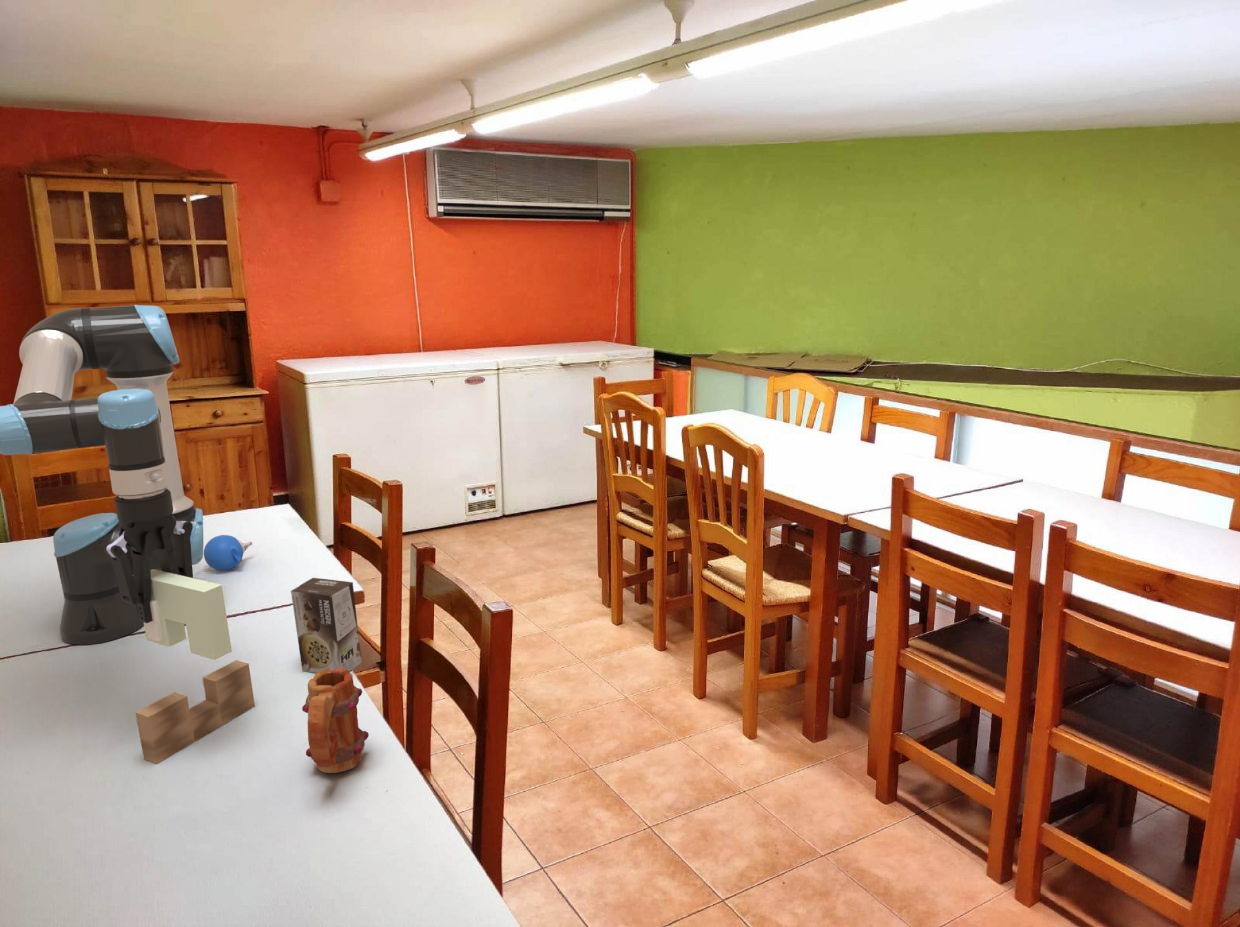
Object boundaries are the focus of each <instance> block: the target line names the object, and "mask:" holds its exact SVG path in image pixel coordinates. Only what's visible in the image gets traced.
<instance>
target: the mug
mask: <svg viewBox="0 0 1240 927" xmlns="http://www.w3.org/2000/svg"><path fill="white" fill-rule="evenodd" d="M307 691H308V692H307V694H308V695H307V697H306V698H305V703H304V704H303V705H302V707H301V710H302V712H304V713H306V714H307V742H308V746H309V747H308V748H307V749H306V751H305V756H307V757H308V758H311V760H312V761H313V762H314V763H315V765H316V768H317V770H319V771H321V772H322V773H326V774H330V773H331V774H333V773H334V774H337V773H343V772H346V771H349V770H351V769H355V767H357V766H358V765H359V764H360V762H361V760H362V752H363V750H364V749H365V746H366V745H365V744H366V743H365V742H366V741H367V740H368V738H369V735H370V734H369V731H366V730H362V729H361V728H360V726H359V720H358V704H359V702H360V697H361V695H362V694H363V689H362V688H358V687H357V686H356V685H355V683H354V678H353V674H352V673H351V671H350V672H349V671H348V670H346V669H341V668H335V669H334V670H332V671H331V670H330V669H329V668H328V669H326V670H323V671H321V672H318V673H314V675H313V678H310V679H309V680H308V682H307Z"/></svg>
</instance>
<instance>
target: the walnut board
mask: <svg viewBox="0 0 1240 927" xmlns="http://www.w3.org/2000/svg"><path fill="white" fill-rule="evenodd" d="M250 670H251V668H250V664H249V663H248V662H244V661H241V660H237V659H236V660H234V661H232V662H230V663H228V664H226V665H224V666H222V667H221V668H218V669H216V670H215V671H214V670H213V672H211V673H209V674H207V675H205V676H203V677H202V681H203V682H202V684H203V690H204V695H205V696H204V697H205V699H204V700H203V701H201V702H199V703H198V704H196V705H193V706H192V707H190V705H189V698H188V696H187V695H184V694H181V693H179V692H176V691H173V692H172V693H171V694H168V695H165V697H163V698H160V699H159V700H157V701H154V702H152V703H151V704H149V705H147V706H145V707H143V708H141V709H139V710H137V711H135V717H136V724H137V728H138V734H139V740H140V744H141V752H142V755H143V759H144V760H146V761H148V762H151V763H153V764H155V765H158V764H159V763H161V762H162V761H163V762H164V761H165V760H166V759H167V758H169V757H171V756H173V755H175V754H176V753H178V752H180V751H181V750H183V749H185V748H186V747H188V746H190V745H192V744H193V743H195V742H197V741H198V740H200V739H202V738H203V737H205V736H207V735H209V734H210V733H212V732H214V731H215V730H217V729H219V728H221V727H223V726H224V725H226V724H228V723H229V722H231V721H232V720H234V719H236V718H238V717H239V716H242V715H243V714H244V713H246V712H249V711H250V710H251V709H253V708H255V707H256V705H255V699H254V698H255V697H254V691H253V685H252V677H251V671H250Z"/></svg>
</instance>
